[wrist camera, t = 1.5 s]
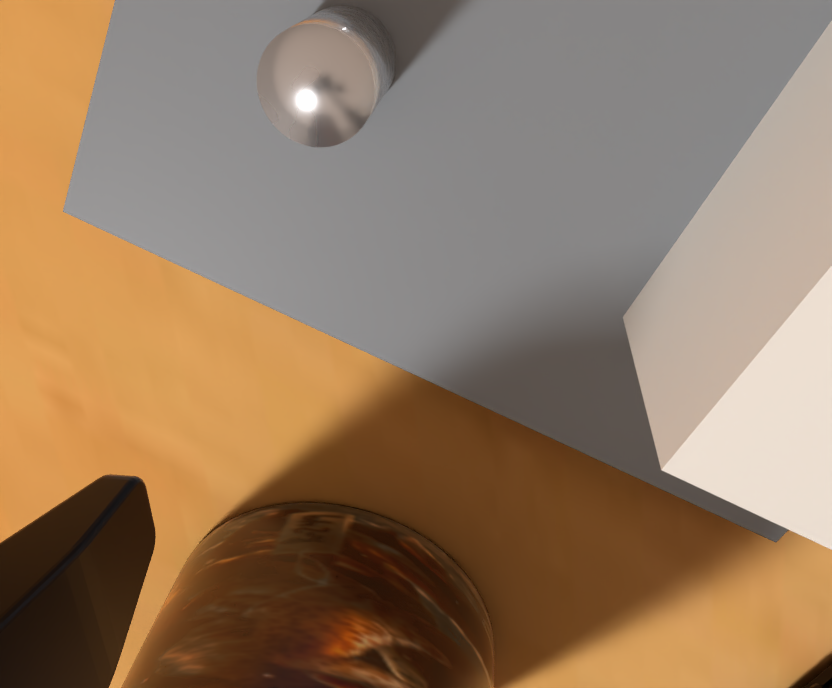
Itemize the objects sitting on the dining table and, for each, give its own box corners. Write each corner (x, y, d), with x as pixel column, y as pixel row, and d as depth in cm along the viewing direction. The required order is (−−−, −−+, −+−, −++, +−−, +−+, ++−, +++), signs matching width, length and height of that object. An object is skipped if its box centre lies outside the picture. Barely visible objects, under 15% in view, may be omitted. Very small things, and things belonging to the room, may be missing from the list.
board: (1372, -134, 15) (1455, -137, 14) (761, 506, 24) (776, 542, 22) (354, -805, 12) (334, -888, 11) (91, 192, 21) (63, 211, 20)
